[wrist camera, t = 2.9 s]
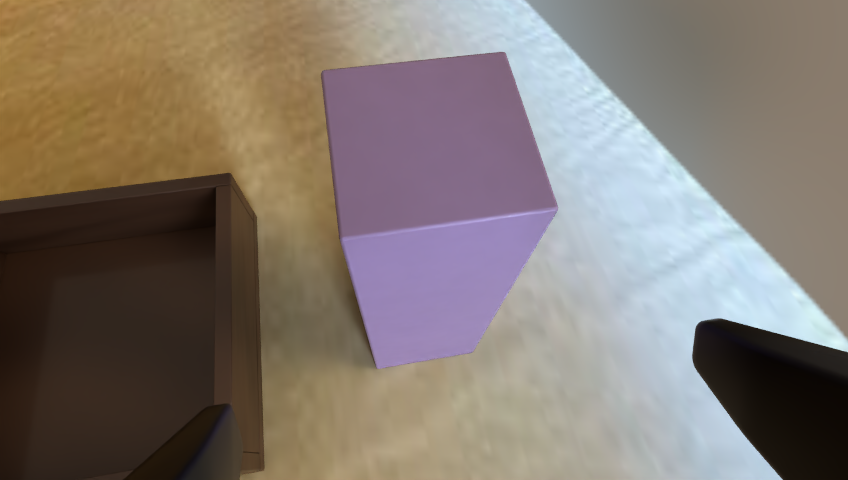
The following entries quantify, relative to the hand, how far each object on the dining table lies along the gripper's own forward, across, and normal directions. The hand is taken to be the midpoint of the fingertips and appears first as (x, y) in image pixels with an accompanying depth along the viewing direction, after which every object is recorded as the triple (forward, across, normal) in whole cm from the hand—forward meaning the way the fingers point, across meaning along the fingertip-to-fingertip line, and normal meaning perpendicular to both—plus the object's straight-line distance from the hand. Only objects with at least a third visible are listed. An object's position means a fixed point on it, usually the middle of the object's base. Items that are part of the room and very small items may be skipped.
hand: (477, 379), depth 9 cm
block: (+11, 0, +5) cm, 12 cm away
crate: (+12, +12, +4) cm, 18 cm away
